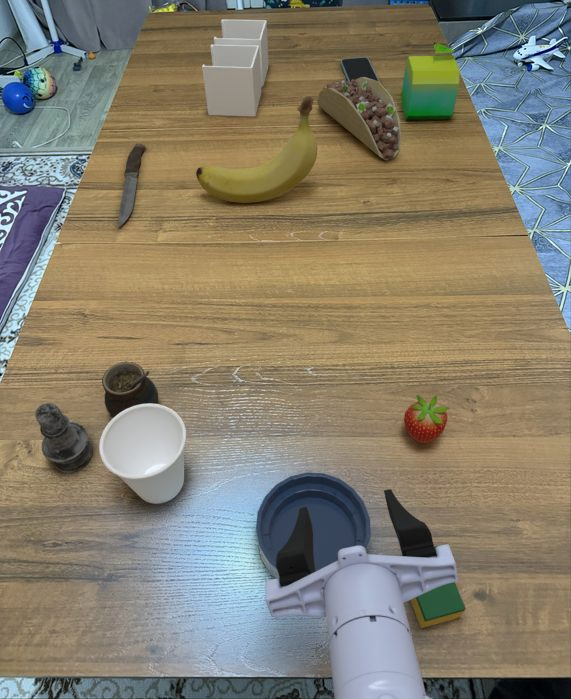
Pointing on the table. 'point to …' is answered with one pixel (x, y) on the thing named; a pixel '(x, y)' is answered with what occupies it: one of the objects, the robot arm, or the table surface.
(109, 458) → the cup
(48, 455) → the chess piece
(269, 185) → the banana
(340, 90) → the taco
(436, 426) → the fruit
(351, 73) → the smartphone
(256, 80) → the storage container
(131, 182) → the knife
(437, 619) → the sponge
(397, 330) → the table surface
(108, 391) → the mate gourd
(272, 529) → the bowl
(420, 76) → the leaf-topped green cube
